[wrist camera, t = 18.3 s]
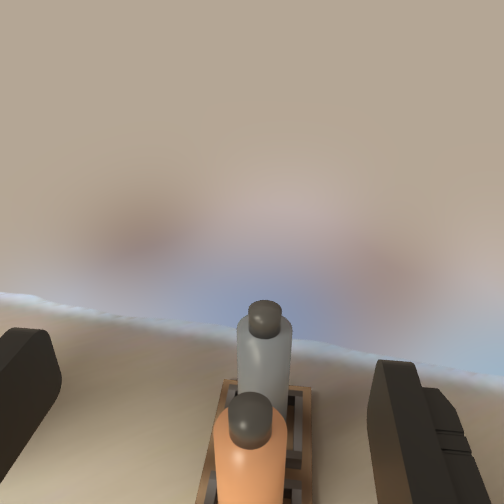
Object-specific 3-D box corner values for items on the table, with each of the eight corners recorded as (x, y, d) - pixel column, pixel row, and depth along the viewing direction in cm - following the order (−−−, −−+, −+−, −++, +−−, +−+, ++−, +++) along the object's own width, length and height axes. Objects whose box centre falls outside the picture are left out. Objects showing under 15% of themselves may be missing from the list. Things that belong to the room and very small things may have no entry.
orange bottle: (278, 574, 31) (286, 448, 23) (215, 565, 31) (204, 438, 24) (282, 508, 35) (290, 383, 28) (226, 501, 36) (219, 376, 28)
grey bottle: (284, 451, 40) (292, 330, 32) (235, 446, 40) (232, 326, 33) (286, 411, 44) (294, 295, 37) (242, 406, 44) (240, 291, 37)
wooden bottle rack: (312, 646, 28) (315, 630, 27) (170, 625, 29) (166, 608, 28) (310, 394, 47) (312, 377, 46) (224, 386, 48) (223, 369, 47)
